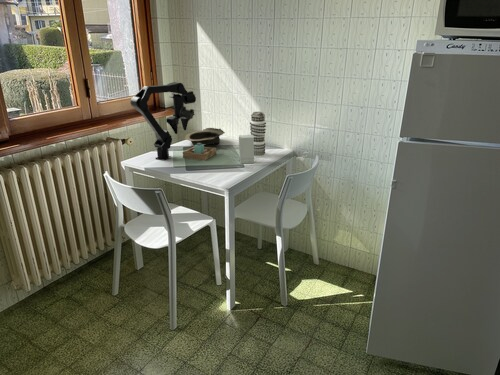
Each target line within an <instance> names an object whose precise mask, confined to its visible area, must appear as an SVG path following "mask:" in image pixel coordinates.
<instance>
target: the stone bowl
mask: <svg viewBox="0 0 500 375" xmlns="http://www.w3.org/2000/svg"><path fill="white" fill-rule="evenodd" d="M225 133H226V132H225V131H224V130H223V129H221V127H220V128H216V127H206V128H204V129H202V130H196V131H193V132H190V133H187V134H186V135H185V136H184V140H186V141H190V142H191V144H192V146H193V147H194V146H195V145H197V143H201V144H204V146H208V145H214V146H216V147H217V146H219V145H220V143H221V138H220V136H223V135H224V134H225Z"/></svg>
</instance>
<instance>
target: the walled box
mask: <svg viewBox="0 0 500 375" xmlns="http://www.w3.org/2000/svg"><path fill="white" fill-rule="evenodd" d="M194 149H195V148H194V146H192V147H190V148H188V149H186V150H184V151H182V158H183V159H191V160H197V161H203V162H204V161H206V160H208V159H210V158H212V157H214V156H215V155H217V147H211V146H210V147H209V146H204V150H207V152H206V153H204V154H199V153H192V150H194Z"/></svg>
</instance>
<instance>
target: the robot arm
mask: <svg viewBox="0 0 500 375" xmlns="http://www.w3.org/2000/svg"><path fill="white" fill-rule="evenodd" d="M162 93H163V94H164V93H171V94H170V95H169V99H170V98H172V102H173V106H172V107H171V108H172V110H173V114H172V115H171V116H168V117H166V119H165V120H166V124H169V126H170V127H171V128H172V130H173V132H174V134H175V135H178V126H179V124H180V122H181V125H182V128H183V131H187V128H188V124H189V121H190V120H191V119H193V117H194V116H195V114H196V113H195V109H193V108H190V109H187V107H186V106H185V105H187V104H194V103H195V102H196V101H197V97H196V94H194V91H193V90H190V91H187V89H186V88H185V85H184V83H182V82H176V81H173V82H170V83H167V84H160V85H159V84H158V85H144V86H142V88H141V89H140V90H139V91H138V92H137V93H136V94H135V95H134V96H133V97H131V99H130V105H131V107H132V108H134V109H135V110H136V111H137V112H139V113H140V114H141V116H142V117H143V118H144V120H145V121H146V122H147V124H148V125H149V127H150V128H151V129H152V131H153V132H154V134H155V138H156V140H155V142H154V143H153V145H154V148H156V151H157V157H155V159H156V160H163V161H166V160H168V159H171V158H172V155H170V152H169V149H171V145H172V142H173V138H172V137H173V136H172V135H171V133H170V132H169V130H166V129H163V128H162V127H161V125H160V124H159V122H158V120H156V118H155V117H154V115H153V114H152V113H151V111H150V109H149V104H148V102H149V101H150V97H151V95H152V94H162Z"/></svg>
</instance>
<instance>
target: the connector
mask: <svg viewBox="0 0 500 375" xmlns="http://www.w3.org/2000/svg"><path fill="white" fill-rule="evenodd" d="M193 147H194V148H195V153H199V154H201V152H202V151H204V147H205V145H204V144H201V143H197V145H195V146H194V145H193Z"/></svg>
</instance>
